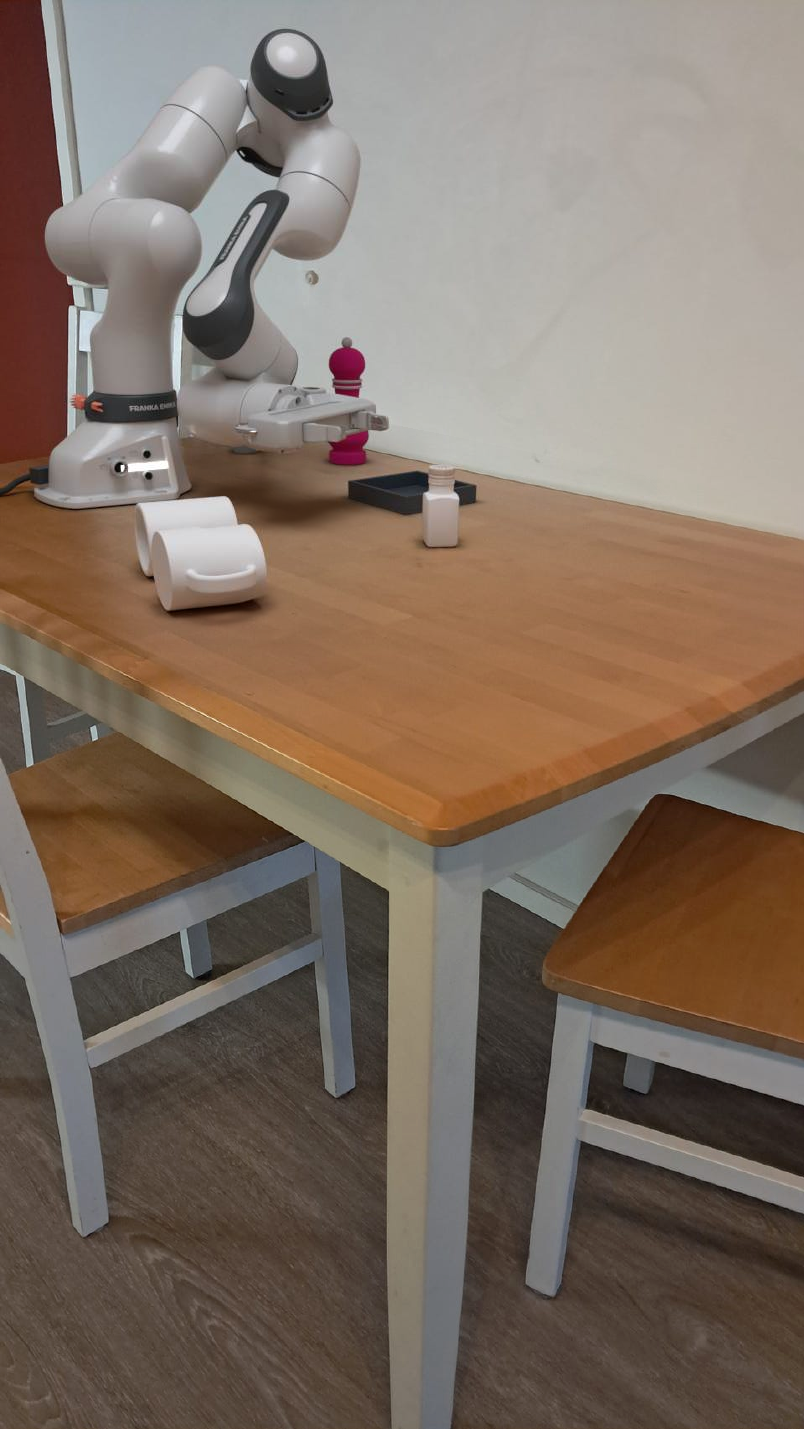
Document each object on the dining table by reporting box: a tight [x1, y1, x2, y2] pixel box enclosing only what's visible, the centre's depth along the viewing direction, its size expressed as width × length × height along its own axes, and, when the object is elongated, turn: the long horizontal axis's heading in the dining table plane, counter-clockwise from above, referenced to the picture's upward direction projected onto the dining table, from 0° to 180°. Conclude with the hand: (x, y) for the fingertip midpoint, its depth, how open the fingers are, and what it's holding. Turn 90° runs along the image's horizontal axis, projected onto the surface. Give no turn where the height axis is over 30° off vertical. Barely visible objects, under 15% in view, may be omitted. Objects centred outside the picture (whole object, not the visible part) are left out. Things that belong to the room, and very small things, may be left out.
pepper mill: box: [327, 336, 370, 466], centre depth 177 cm, size 7×7×20 cm
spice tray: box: [347, 470, 478, 516], centre depth 154 cm, size 13×13×2 cm
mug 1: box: [133, 495, 239, 577], centre depth 120 cm, size 12×10×8 cm
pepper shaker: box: [421, 464, 460, 548], centre depth 130 cm, size 4×4×10 cm
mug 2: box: [151, 523, 268, 611], centre depth 107 cm, size 12×9×8 cm
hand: (364, 428), depth 134 cm, fingers open, 8 cm apart
